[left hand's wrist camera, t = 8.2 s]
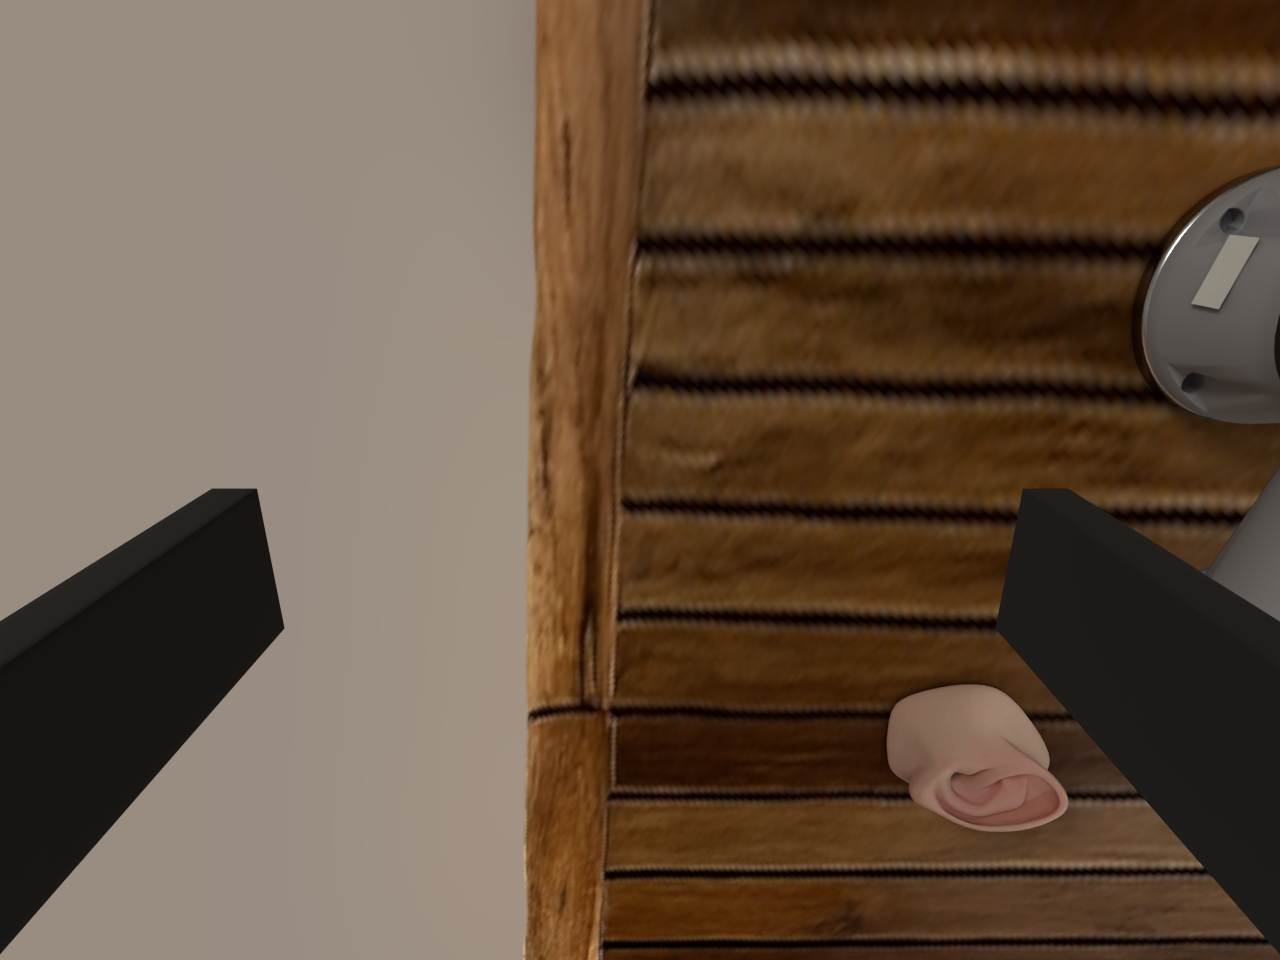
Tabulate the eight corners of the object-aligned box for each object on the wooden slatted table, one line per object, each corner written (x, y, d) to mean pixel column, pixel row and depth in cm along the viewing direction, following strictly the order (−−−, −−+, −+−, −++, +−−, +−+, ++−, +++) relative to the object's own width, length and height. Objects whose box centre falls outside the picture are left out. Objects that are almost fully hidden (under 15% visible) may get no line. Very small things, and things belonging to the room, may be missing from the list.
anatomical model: (878, 750, 51) (1032, 686, 49) (862, 714, 55) (1004, 653, 53) (943, 871, 55) (1088, 816, 53) (924, 830, 59) (1058, 777, 57)
